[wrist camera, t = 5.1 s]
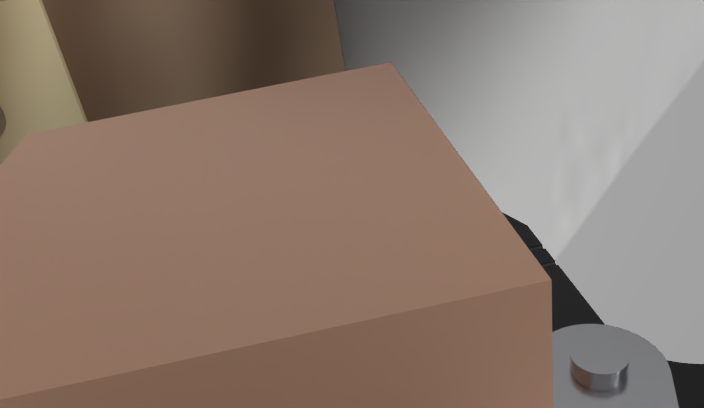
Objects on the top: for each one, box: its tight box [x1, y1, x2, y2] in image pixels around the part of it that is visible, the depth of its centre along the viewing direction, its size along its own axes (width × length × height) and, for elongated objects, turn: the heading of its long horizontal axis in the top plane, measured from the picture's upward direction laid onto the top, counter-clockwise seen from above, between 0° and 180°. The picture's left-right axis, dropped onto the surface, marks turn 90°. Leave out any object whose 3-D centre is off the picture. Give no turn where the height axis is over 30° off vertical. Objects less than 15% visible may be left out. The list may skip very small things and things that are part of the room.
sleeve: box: [0, 62, 553, 408], centre depth 8 cm, size 6×6×6 cm
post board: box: [0, 0, 345, 165], centre depth 20 cm, size 17×13×9 cm
